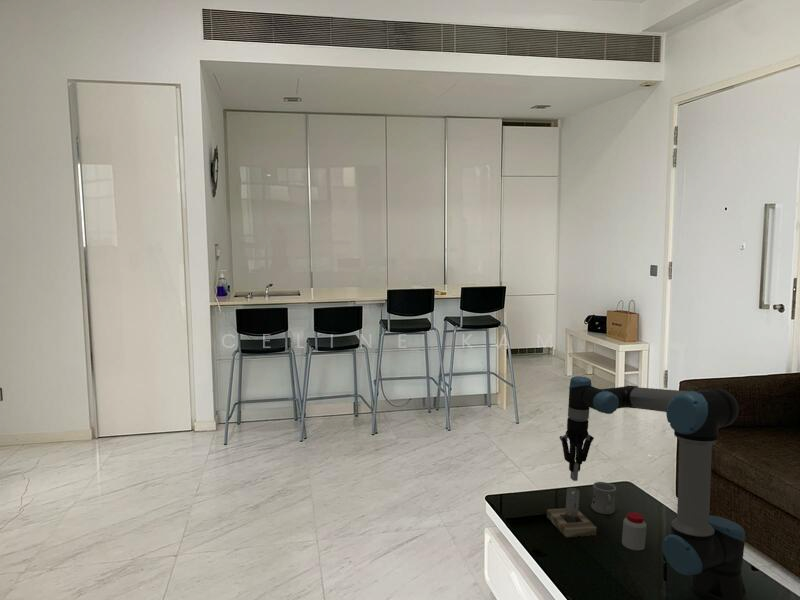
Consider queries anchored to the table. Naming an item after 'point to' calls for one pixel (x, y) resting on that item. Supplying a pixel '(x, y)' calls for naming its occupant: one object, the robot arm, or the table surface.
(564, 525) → the jig
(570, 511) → the grey cylindrical peg
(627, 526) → the pill bottle
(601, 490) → the mug
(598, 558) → the table surface
